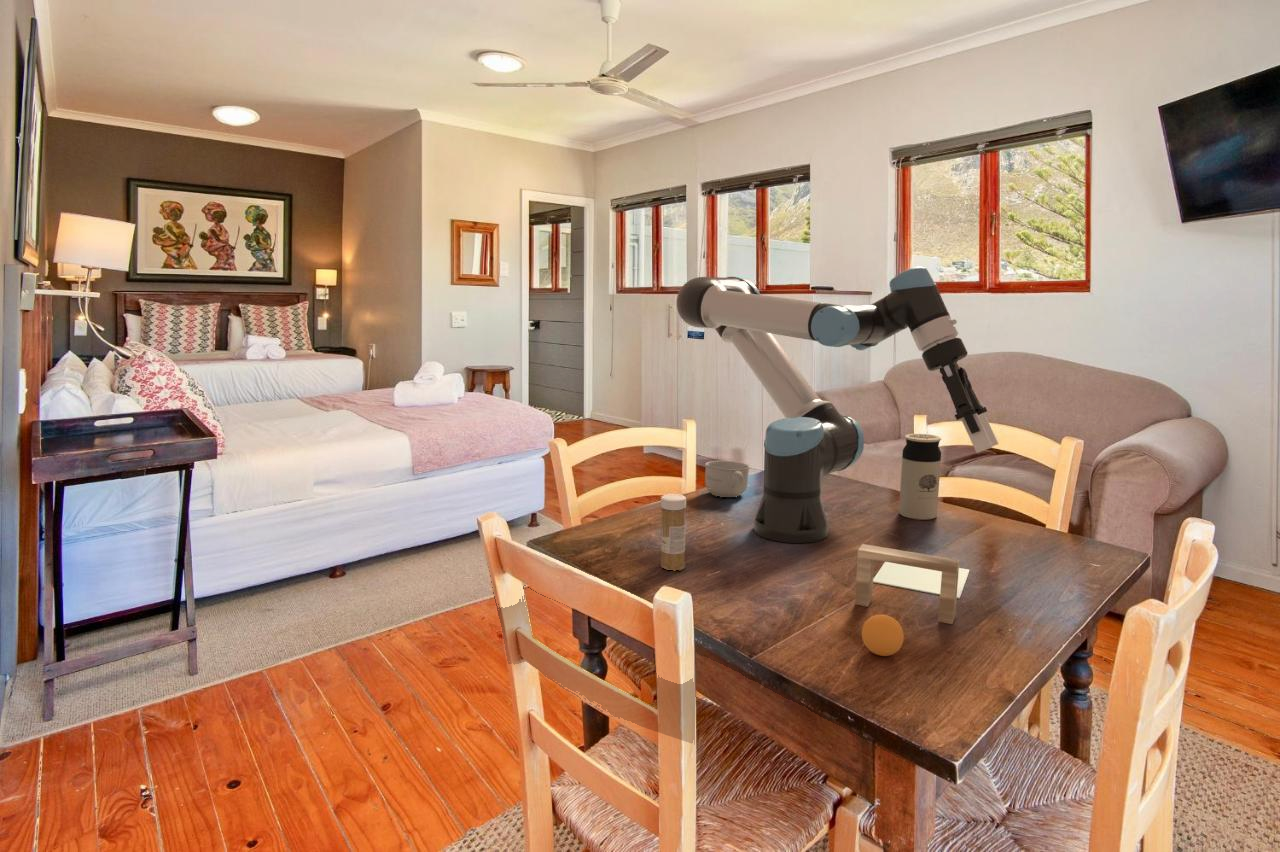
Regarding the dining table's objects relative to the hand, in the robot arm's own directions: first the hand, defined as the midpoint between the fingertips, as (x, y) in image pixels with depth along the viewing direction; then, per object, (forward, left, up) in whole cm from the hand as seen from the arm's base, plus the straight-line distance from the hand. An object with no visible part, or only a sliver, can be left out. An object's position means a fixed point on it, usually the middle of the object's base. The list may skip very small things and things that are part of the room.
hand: (988, 448), depth 134 cm
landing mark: (-8, -16, -21) cm, 27 cm away
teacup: (-58, +14, -21) cm, 63 cm away
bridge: (-8, -32, -21) cm, 39 cm away
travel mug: (-15, +21, -21) cm, 33 cm away
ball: (-8, -48, -18) cm, 52 cm away
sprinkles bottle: (-48, -34, -21) cm, 62 cm away
